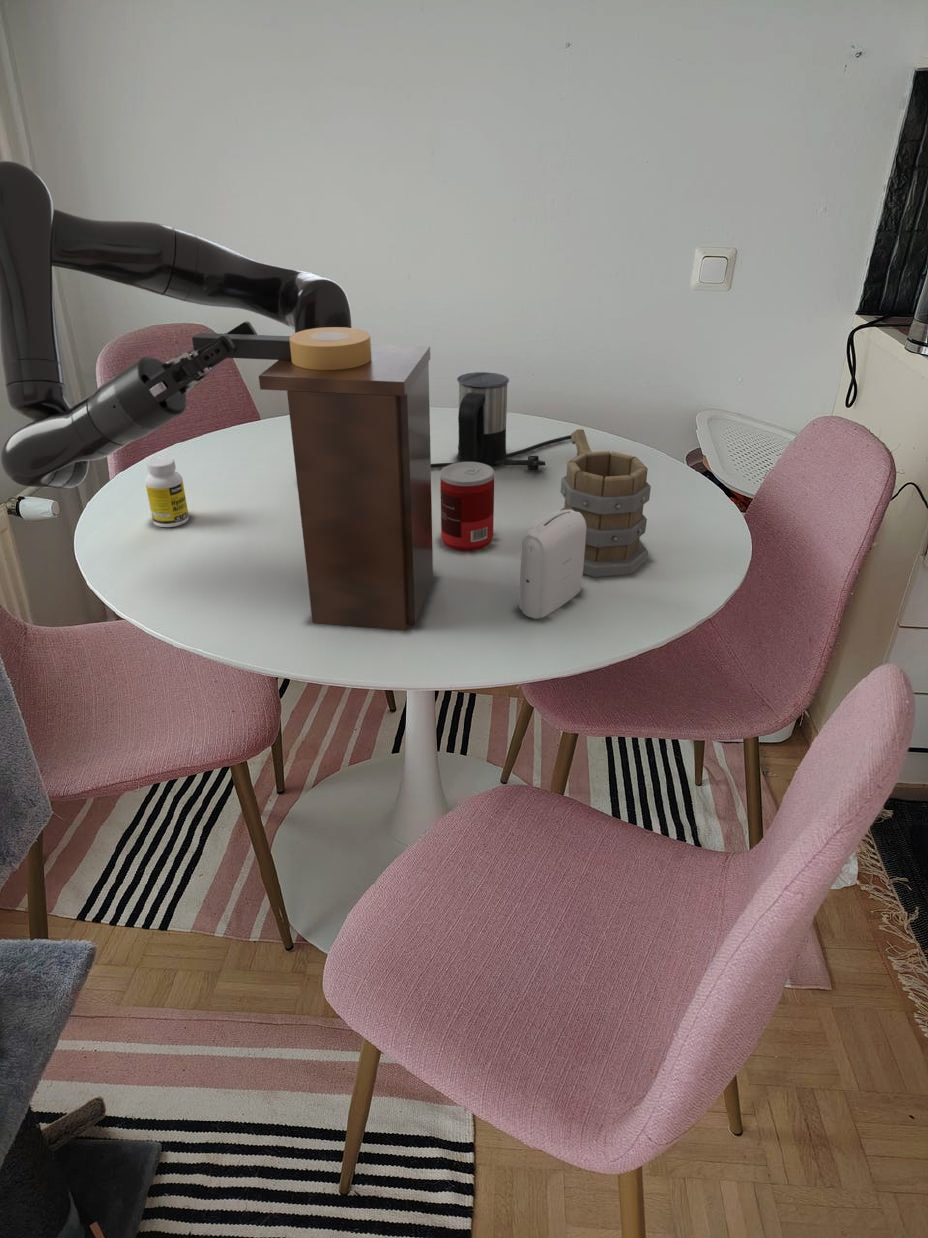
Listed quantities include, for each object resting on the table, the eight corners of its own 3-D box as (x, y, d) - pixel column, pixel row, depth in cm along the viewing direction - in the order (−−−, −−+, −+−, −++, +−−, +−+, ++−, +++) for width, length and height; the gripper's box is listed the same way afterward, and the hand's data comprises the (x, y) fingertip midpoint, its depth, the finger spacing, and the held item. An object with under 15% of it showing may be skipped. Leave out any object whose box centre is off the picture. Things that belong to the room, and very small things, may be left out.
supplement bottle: (179, 529, 131) (167, 469, 125) (146, 526, 131) (134, 466, 126) (195, 515, 135) (185, 456, 130) (164, 512, 136) (152, 453, 131)
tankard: (656, 573, 119) (669, 471, 111) (568, 580, 117) (575, 477, 109) (611, 513, 136) (620, 421, 128) (534, 519, 134) (538, 426, 126)
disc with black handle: (379, 351, 100) (378, 328, 99) (360, 372, 93) (358, 347, 92) (213, 344, 103) (210, 322, 102) (182, 364, 96) (177, 340, 94)
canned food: (499, 533, 130) (501, 464, 124) (483, 556, 123) (484, 484, 117) (452, 526, 132) (451, 458, 126) (433, 548, 125) (432, 477, 119)
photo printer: (540, 623, 107) (546, 534, 101) (513, 612, 110) (517, 524, 103) (586, 592, 114) (593, 507, 108) (559, 582, 116) (565, 498, 110)
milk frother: (457, 450, 160) (457, 370, 152) (542, 451, 159) (546, 371, 151) (454, 479, 148) (454, 394, 140) (546, 480, 147) (550, 395, 139)
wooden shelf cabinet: (289, 621, 108) (258, 375, 92) (323, 565, 121) (301, 341, 104) (413, 631, 106) (404, 381, 90) (434, 573, 119) (430, 346, 102)
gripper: (85, 392, 96) (195, 319, 90) (144, 358, 108) (245, 292, 102) (128, 449, 99) (238, 382, 93) (181, 410, 111) (282, 348, 105)
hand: (241, 335), depth 97 cm, fingers open, 6 cm apart
